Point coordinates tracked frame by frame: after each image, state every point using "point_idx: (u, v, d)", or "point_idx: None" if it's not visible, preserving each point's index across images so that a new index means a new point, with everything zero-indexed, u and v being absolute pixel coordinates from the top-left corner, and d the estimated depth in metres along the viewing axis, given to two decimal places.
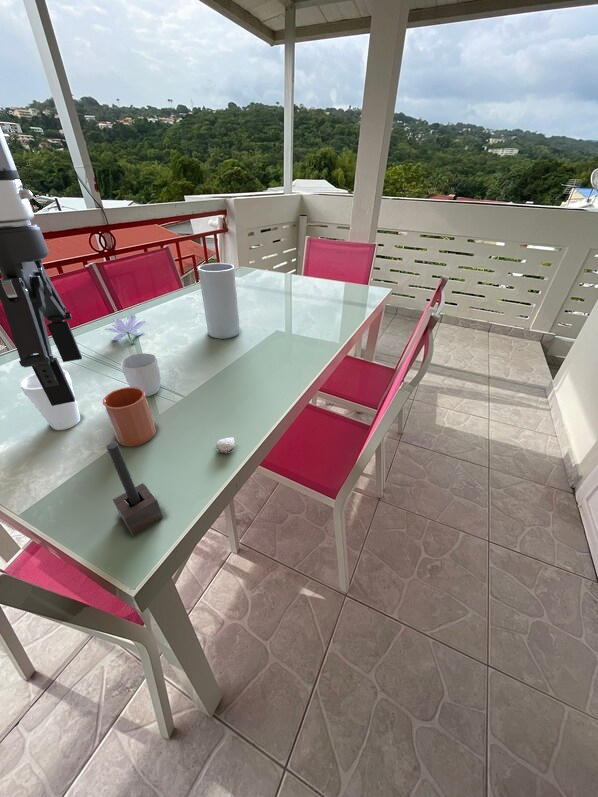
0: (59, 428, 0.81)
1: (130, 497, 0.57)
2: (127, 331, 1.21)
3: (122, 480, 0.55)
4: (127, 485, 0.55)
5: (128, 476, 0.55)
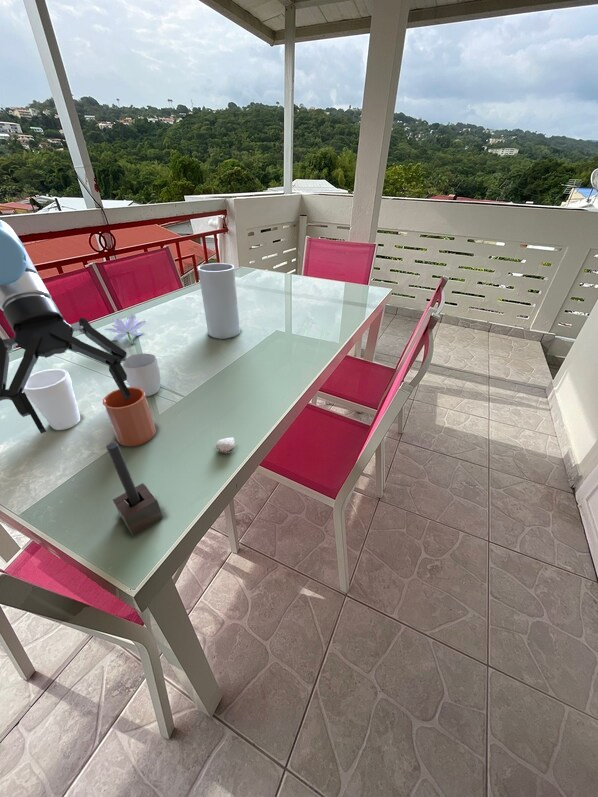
0: (59, 428, 0.81)
1: (130, 497, 0.57)
2: (127, 331, 1.21)
3: (122, 480, 0.55)
4: (127, 485, 0.55)
5: (128, 476, 0.55)
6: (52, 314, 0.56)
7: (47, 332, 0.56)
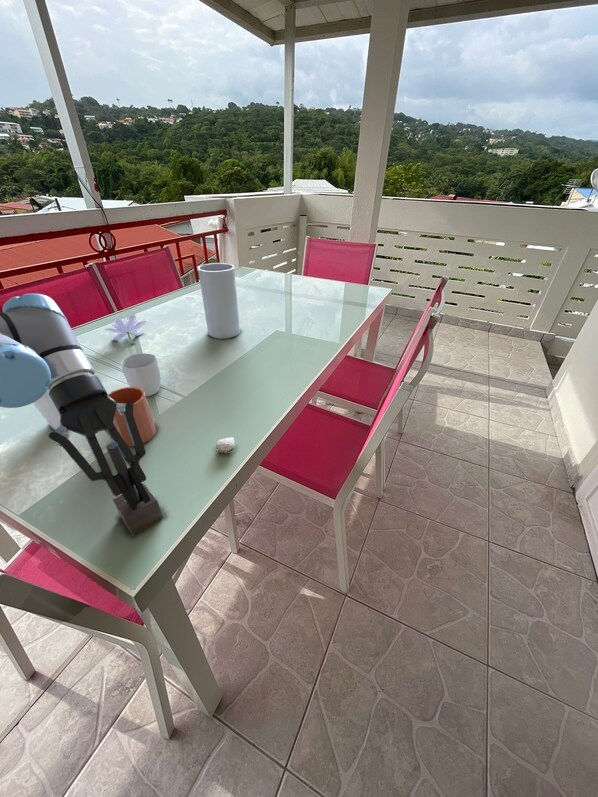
0: None
1: None
2: (127, 331, 1.21)
3: (122, 480, 0.55)
4: (127, 485, 0.55)
5: (128, 476, 0.55)
6: (98, 392, 0.54)
7: (90, 401, 0.55)
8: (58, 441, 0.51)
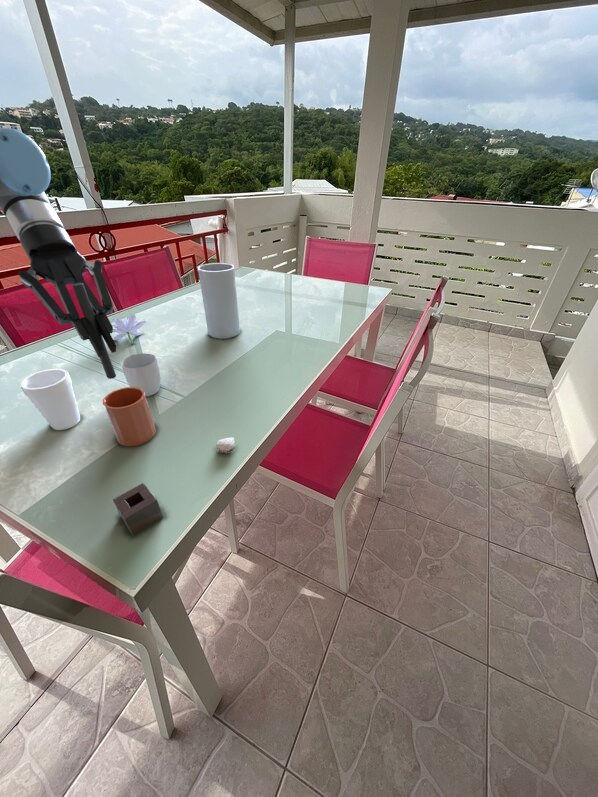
0: (59, 428, 0.81)
1: None
2: (127, 331, 1.21)
3: None
4: (95, 333, 0.59)
5: (95, 323, 0.58)
6: (66, 243, 0.58)
7: (60, 253, 0.58)
8: (27, 279, 0.55)
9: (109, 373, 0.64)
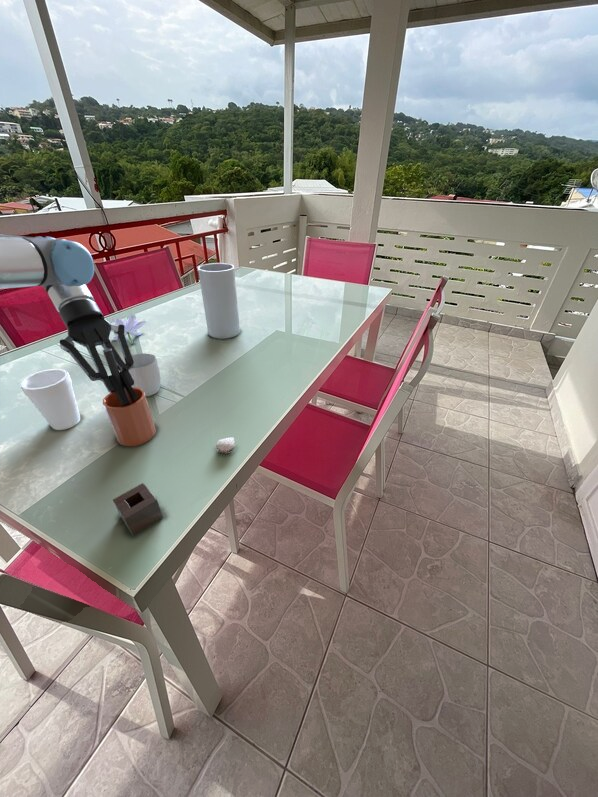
0: (59, 428, 0.81)
1: None
2: (127, 331, 1.21)
3: None
4: (119, 386, 0.72)
5: (120, 378, 0.71)
6: (96, 313, 0.71)
7: (91, 321, 0.71)
8: (66, 346, 0.67)
9: None
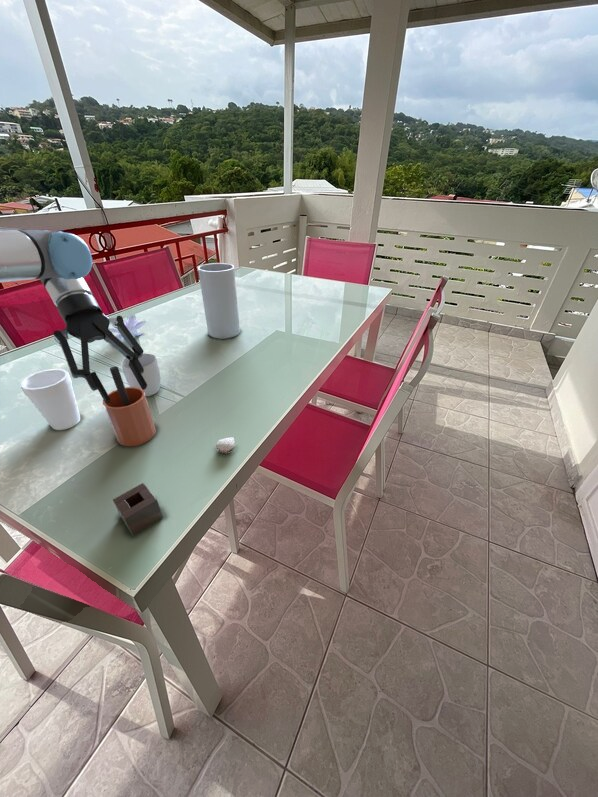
0: (59, 428, 0.81)
1: None
2: None
3: (121, 397, 0.73)
4: (125, 402, 0.74)
5: (126, 394, 0.74)
6: (94, 308, 0.70)
7: (89, 318, 0.70)
8: (58, 338, 0.66)
9: None
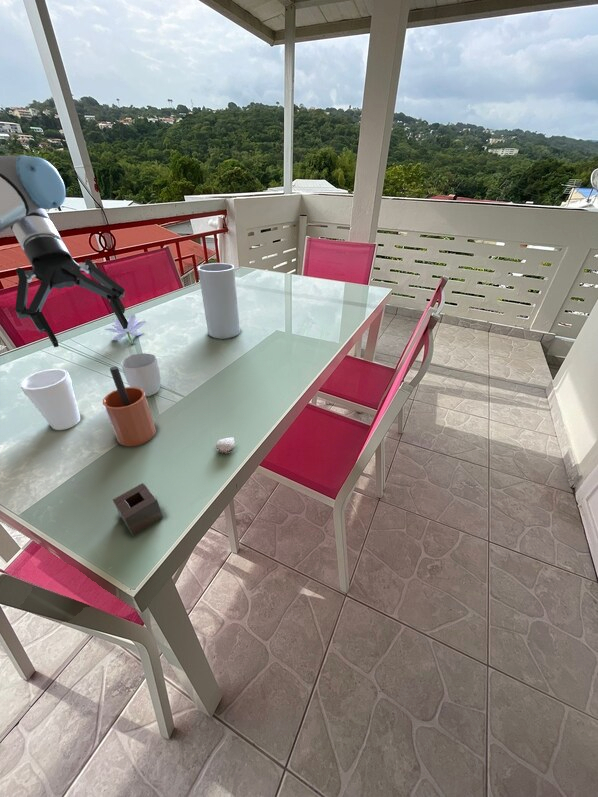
0: (59, 428, 0.81)
1: None
2: (127, 331, 1.21)
3: (121, 397, 0.73)
4: (125, 402, 0.74)
5: (126, 394, 0.74)
6: (63, 252, 0.68)
7: (59, 267, 0.69)
8: (19, 275, 0.64)
9: None
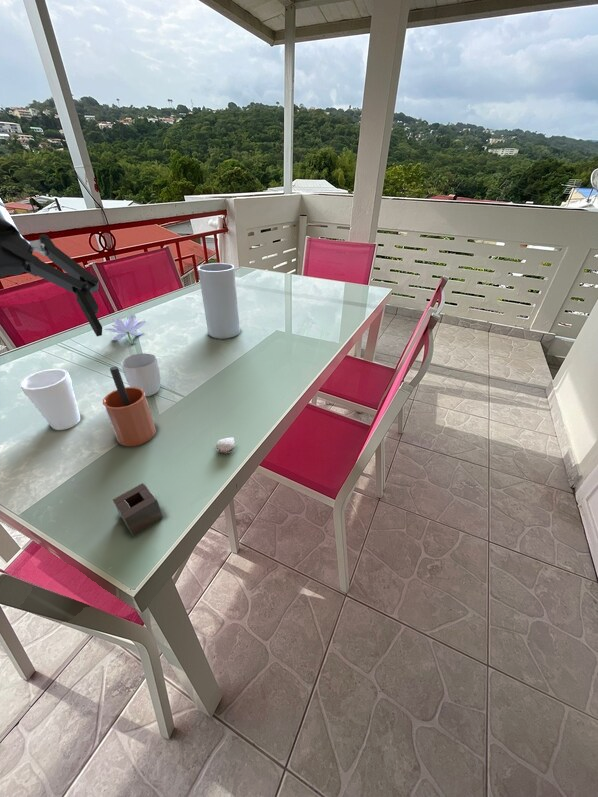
0: (59, 428, 0.81)
1: None
2: (127, 331, 1.21)
3: (121, 397, 0.73)
4: (125, 402, 0.74)
5: (126, 394, 0.74)
6: (4, 223, 0.46)
7: None
8: None
9: None
